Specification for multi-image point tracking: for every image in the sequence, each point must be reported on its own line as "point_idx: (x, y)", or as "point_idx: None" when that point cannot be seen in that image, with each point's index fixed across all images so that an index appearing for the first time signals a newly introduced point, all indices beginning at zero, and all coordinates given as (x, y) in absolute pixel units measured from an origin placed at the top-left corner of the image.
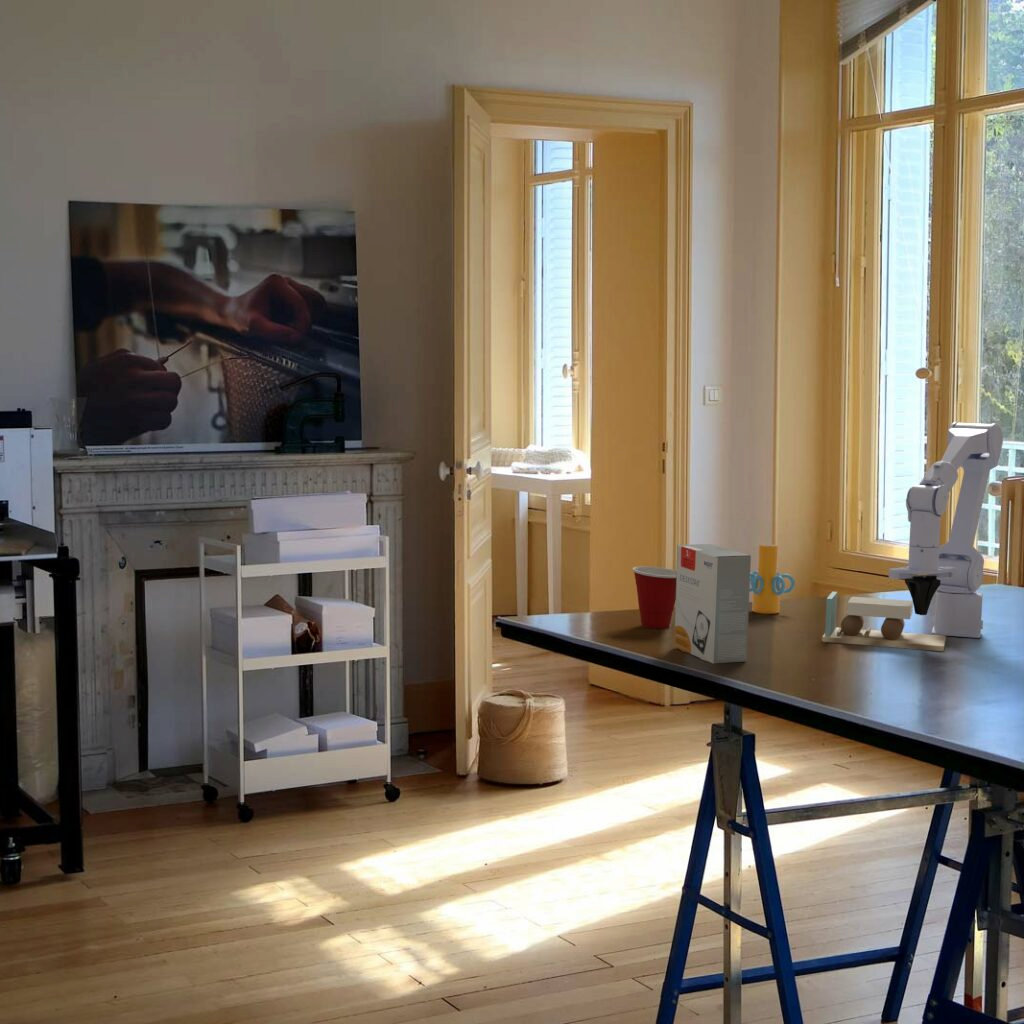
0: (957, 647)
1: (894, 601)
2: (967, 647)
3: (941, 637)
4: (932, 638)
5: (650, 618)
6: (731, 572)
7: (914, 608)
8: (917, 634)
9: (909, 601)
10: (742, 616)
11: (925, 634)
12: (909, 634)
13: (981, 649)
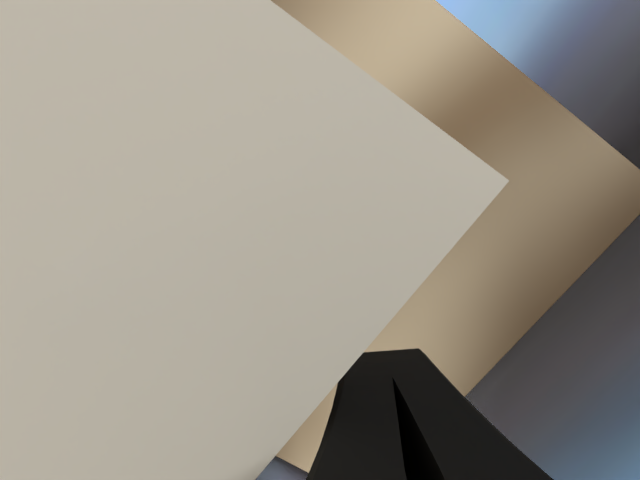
0: (536, 389)
1: (93, 196)
2: (599, 397)
3: (569, 249)
4: (469, 274)
5: None
6: None
7: (338, 389)
8: (464, 93)
9: (392, 237)
10: None
11: (536, 105)
12: (390, 80)
13: (634, 455)
